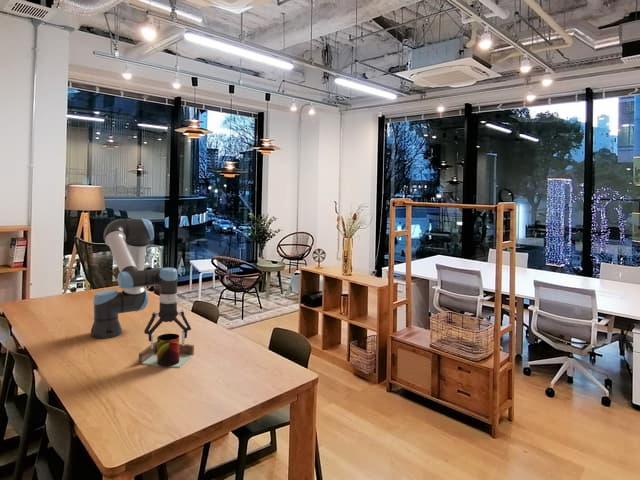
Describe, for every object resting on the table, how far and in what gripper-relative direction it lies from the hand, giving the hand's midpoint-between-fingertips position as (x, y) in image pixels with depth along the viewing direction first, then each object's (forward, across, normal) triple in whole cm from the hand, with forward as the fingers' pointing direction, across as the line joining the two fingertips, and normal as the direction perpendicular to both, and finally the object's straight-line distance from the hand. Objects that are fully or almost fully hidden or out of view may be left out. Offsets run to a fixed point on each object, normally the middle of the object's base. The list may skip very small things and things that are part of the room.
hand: (167, 346), depth 196 cm
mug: (+7, 0, 0) cm, 7 cm away
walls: (+8, 0, +3) cm, 8 cm away
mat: (+7, 0, +2) cm, 8 cm away
